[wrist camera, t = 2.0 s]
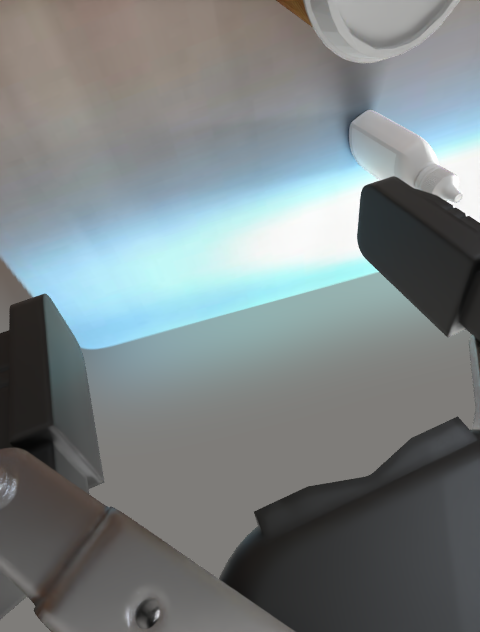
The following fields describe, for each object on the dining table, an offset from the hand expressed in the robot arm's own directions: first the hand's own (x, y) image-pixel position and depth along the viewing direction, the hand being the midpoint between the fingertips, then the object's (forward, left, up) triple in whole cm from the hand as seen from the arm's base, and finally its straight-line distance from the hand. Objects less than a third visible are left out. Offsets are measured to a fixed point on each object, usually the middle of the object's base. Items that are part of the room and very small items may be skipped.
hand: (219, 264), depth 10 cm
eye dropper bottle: (-5, +24, -25) cm, 34 cm away
